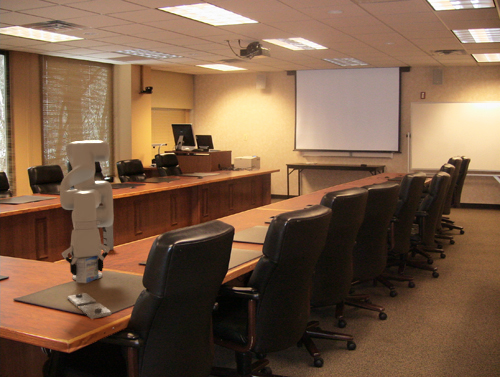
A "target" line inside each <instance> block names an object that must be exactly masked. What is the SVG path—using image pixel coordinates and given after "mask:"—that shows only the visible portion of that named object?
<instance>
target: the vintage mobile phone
mask: <svg viewBox="0 0 500 377" xmlns="http://www.w3.org/2000/svg"><path fill="white" fill-rule="evenodd" d="M101 229H102V237H103V243H102V244H103V245H105V246H108V247H110V250H109V251H112V250H114V249H115V248H114V223H113V224H112V225H111V226H109V227H101ZM101 248H102V247H101ZM102 251H105V249H104V248H102Z"/></svg>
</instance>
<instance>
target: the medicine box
mask: <svg viewBox="0 0 500 377" xmlns="http://www.w3.org/2000/svg"><path fill="white" fill-rule="evenodd" d="M75 264H76V280H75V282H76V283H78V284H81V283H82V284H88V283H90V282H92V281H94V280H98V279H100V278H99V273H98V272H99V270H98V256H93V257H85V258H78V259H77V260H76V262H75ZM97 278H98V279H97Z"/></svg>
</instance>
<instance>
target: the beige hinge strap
mask: <svg viewBox="0 0 500 377" xmlns="http://www.w3.org/2000/svg"><path fill="white" fill-rule="evenodd" d="M68 299H69V300H70V301H72V302H73V303H74V304H75V305H76V306H77V307H76V306H75V305H74V304H73V303H72V302H71V303H72V304H73V305H74V306H75V307H76V308H78V306H80V309H81V310H82V311H83V312H82V311H81V310H80V309H79V310H80V311H81V312H82V313H83V314H85V313H86V314H87V315H86V314H85V315H86V316H87V317H88V318H90V319H91V320H93V319H98V318H104V317H108V316H112V310H110V309H109V308H107V307H106V306H104V305H103V304H101V303H100V302H97V300H96V299H94V298H93V297H92V296H90V295H89V294H88V293H86V292H83V293H77V294H72V295H68V296H67V300H68ZM69 300H68V301H69ZM70 301H69V302H70ZM84 305H85V306H84Z"/></svg>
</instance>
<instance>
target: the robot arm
mask: <svg viewBox="0 0 500 377" xmlns="http://www.w3.org/2000/svg"><path fill="white" fill-rule="evenodd" d="M65 153H66V156H67V159H68V161H69V164H70V165H71V166H70V167H71V169H72V170H70V171H69V172H68V173H67V174H66V175H65V176H64V177H63V178H62V181H61V182H60V186H59V187H60V188H59V191H60V192H59V193H60V194H59V201H60V206H61V207H62V209H64V210H67V211H71V210H72V211H71V220H72V225H73V226H72V227H73V229H72V230H71V237H70V246H69V247H68V248H67V249H65V250H64V251H63V252H61V256H62V257H63V258H64V260H65V261H66V262H68V263H69V267H70V268H69V270H70V273H71V274H72V277H71V278H72V280H74V281H76V264H75V262H76V260H77V259H78V258H85V257H93V256H98V273H99V278H97V279H96V280H98V279H100V278H102V277H103V273H102V272H103V269H104V260H105V258H106V257H107V256H108V253H109V252H110V251H111V250H110V247H108V246H105V245H103V244H104V243H102V241H101V239H102V238H101V234H100V230H99V228H102V227H109V226H111V225H112V224H113V225H114V218H115V217H114V216H115V215H114V194H113V187H112V184H111V183H110V182H109V181H107V180H95V174H96V164H95V163H96V162H97V163H98V162H108V161H110V157H111V148H110V145H109V142H107V141H105V140H78V141H72V142H69V143H67V144H66V146H65ZM72 187H73V188H74V189H72ZM102 248H104V249H105V250H102ZM102 251H103V252H102ZM69 254H70V255H71V258H70V257H69V256H68V255H69Z"/></svg>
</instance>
